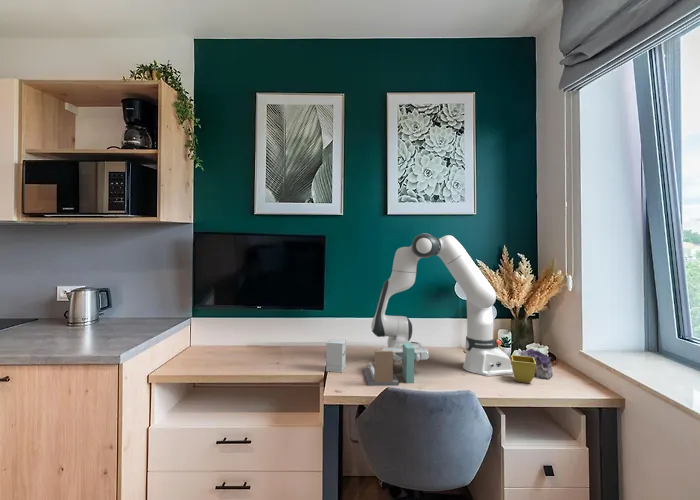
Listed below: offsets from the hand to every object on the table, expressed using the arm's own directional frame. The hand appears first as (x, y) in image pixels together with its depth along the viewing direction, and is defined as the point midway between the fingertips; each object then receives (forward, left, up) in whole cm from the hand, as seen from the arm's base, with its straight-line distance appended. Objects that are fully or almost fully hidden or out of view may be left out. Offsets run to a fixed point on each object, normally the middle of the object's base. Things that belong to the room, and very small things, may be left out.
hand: (408, 359), depth 159 cm
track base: (+11, -3, -8) cm, 14 cm away
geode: (-60, -8, -9) cm, 61 cm away
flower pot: (-47, +3, -9) cm, 48 cm away
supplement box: (+29, -14, -9) cm, 33 cm away
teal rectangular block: (0, 0, -9) cm, 9 cm away
